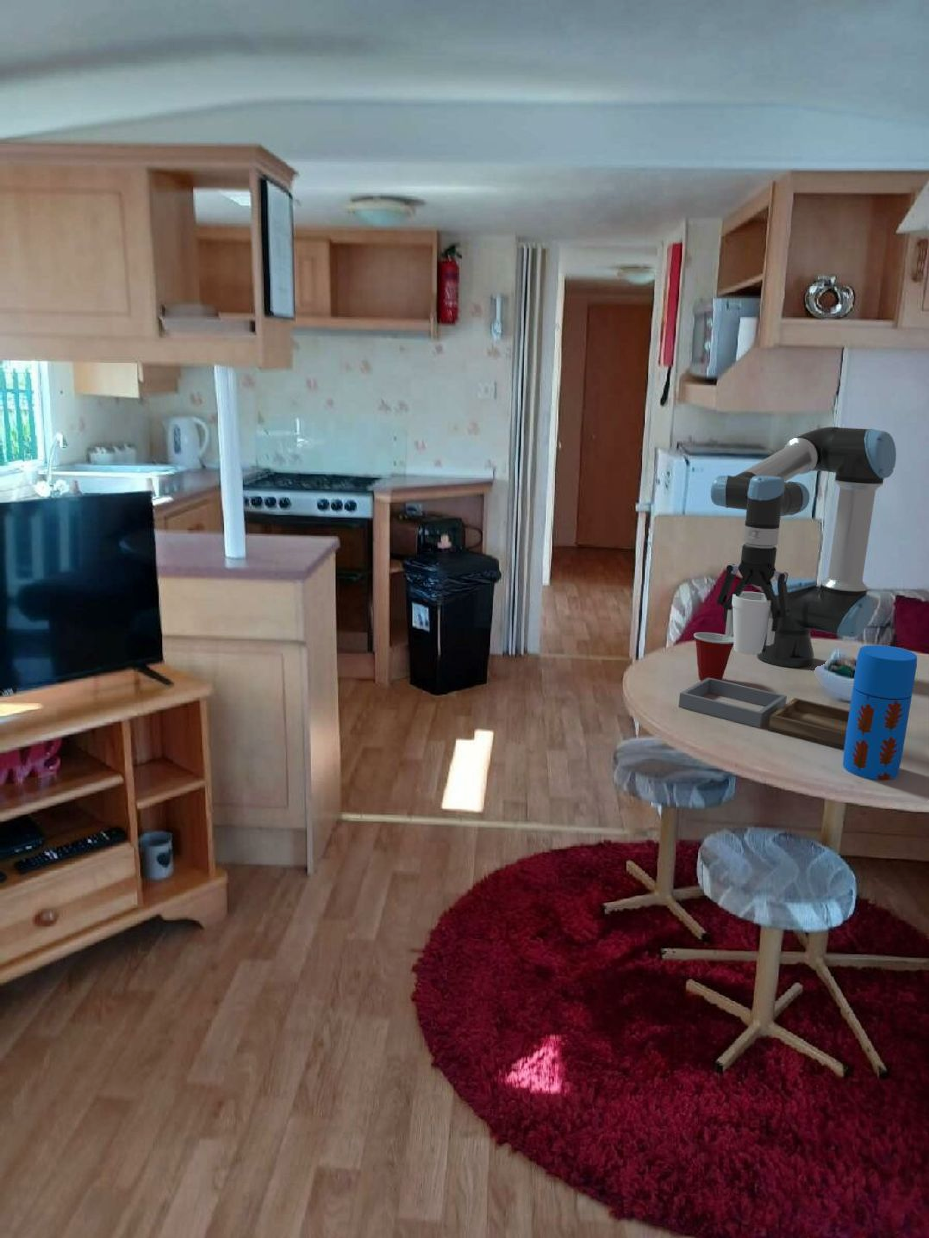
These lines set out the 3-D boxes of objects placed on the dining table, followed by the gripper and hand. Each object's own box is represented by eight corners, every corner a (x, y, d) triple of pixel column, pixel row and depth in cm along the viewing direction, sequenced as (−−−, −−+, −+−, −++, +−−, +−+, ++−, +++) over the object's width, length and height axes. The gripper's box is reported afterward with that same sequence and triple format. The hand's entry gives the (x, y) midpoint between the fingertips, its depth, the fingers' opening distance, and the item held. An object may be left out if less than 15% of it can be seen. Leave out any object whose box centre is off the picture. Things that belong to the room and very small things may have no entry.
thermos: (909, 780, 189) (929, 661, 183) (857, 780, 188) (875, 660, 182) (881, 758, 200) (899, 644, 193) (832, 758, 199) (849, 644, 192)
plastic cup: (738, 679, 248) (743, 635, 245) (720, 689, 240) (725, 644, 237) (700, 670, 255) (705, 627, 252) (681, 679, 247) (686, 635, 244)
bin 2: (793, 711, 226) (795, 697, 225) (881, 733, 214) (883, 718, 213) (768, 730, 214) (770, 715, 213) (860, 753, 202) (862, 738, 201)
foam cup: (770, 658, 216) (776, 602, 213) (728, 654, 218) (734, 599, 215) (766, 646, 225) (772, 593, 222) (726, 643, 227) (731, 590, 224)
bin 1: (706, 690, 239) (708, 677, 238) (785, 709, 227) (786, 695, 226) (678, 706, 226) (679, 693, 226) (759, 727, 215) (761, 713, 214)
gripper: (707, 540, 219) (698, 633, 225) (801, 554, 206) (789, 653, 211) (721, 536, 224) (712, 627, 230) (813, 549, 211) (801, 646, 217)
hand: (748, 639), depth 221 cm, fingers closed on foam cup, 9 cm apart
